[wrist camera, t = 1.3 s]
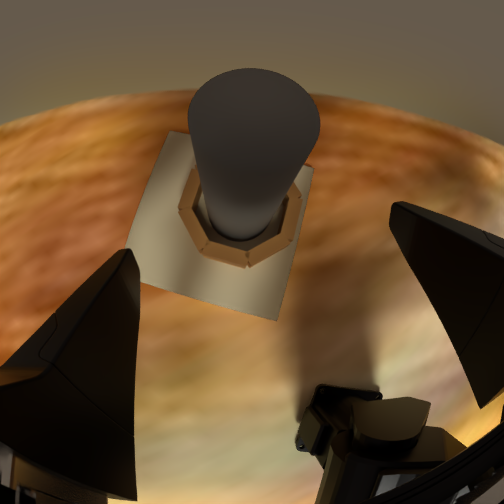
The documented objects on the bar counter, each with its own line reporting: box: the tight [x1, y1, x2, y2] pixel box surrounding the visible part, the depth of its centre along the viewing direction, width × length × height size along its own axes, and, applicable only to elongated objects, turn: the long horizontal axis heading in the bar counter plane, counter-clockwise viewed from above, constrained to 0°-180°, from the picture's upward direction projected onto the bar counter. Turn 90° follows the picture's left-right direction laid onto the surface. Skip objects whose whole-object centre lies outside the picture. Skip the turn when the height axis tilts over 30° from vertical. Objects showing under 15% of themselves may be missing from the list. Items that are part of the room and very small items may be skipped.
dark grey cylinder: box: [188, 68, 320, 242], centre depth 16 cm, size 5×5×13 cm
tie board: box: [125, 131, 314, 321], centre depth 22 cm, size 13×13×2 cm
